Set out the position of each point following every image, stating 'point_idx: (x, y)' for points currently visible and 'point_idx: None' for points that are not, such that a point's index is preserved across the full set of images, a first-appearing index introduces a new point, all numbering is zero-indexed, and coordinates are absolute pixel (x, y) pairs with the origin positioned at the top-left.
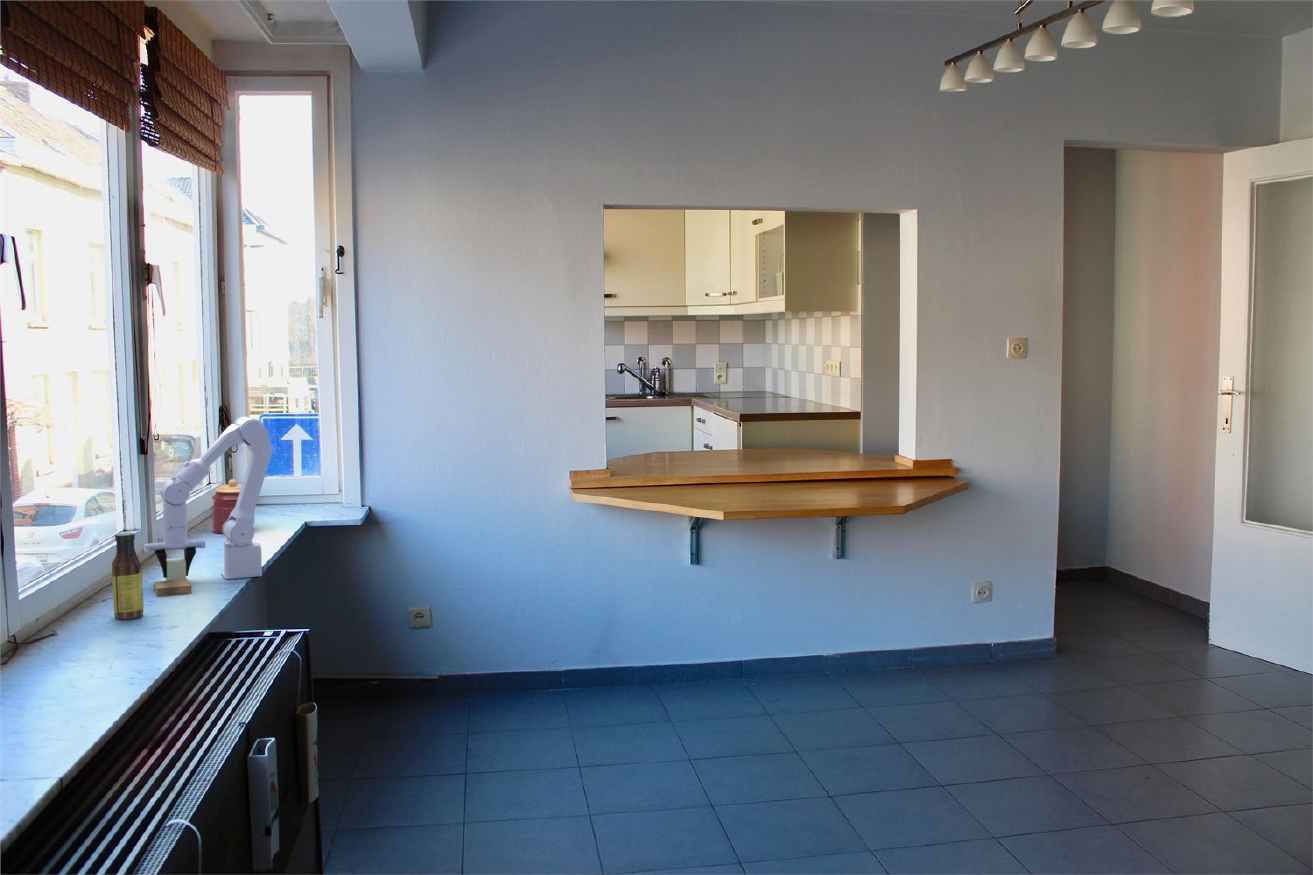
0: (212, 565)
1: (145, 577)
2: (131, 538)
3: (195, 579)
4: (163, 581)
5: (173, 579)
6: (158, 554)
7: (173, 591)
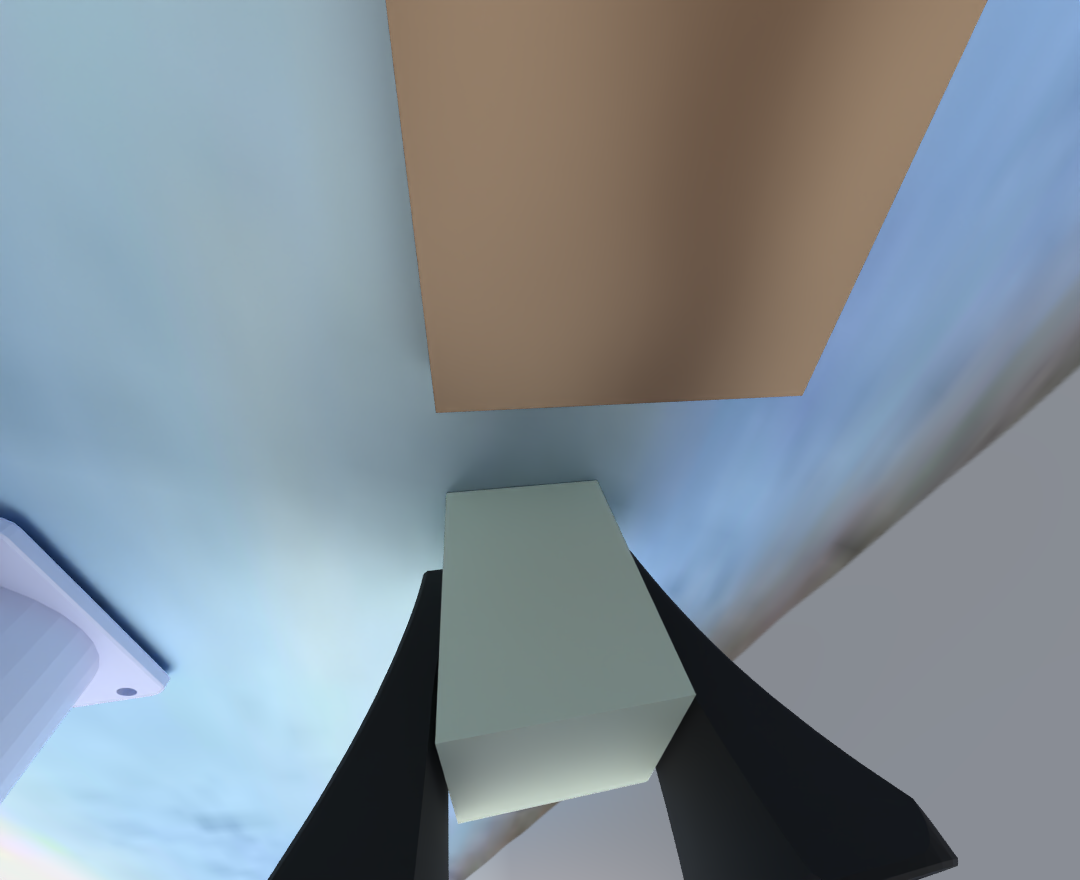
0: (295, 784)
1: None
2: None
3: (368, 577)
4: (719, 370)
5: (560, 514)
6: (952, 860)
7: None
